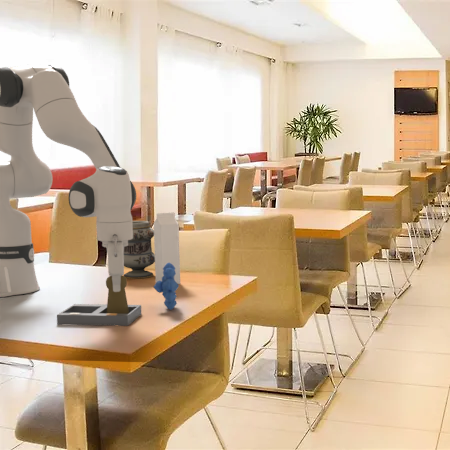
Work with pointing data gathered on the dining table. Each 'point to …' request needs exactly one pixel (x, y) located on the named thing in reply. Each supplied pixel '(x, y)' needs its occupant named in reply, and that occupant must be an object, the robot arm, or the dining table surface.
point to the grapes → (168, 286)
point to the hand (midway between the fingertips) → (116, 287)
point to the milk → (166, 244)
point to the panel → (97, 315)
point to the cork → (117, 297)
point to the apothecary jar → (139, 251)
